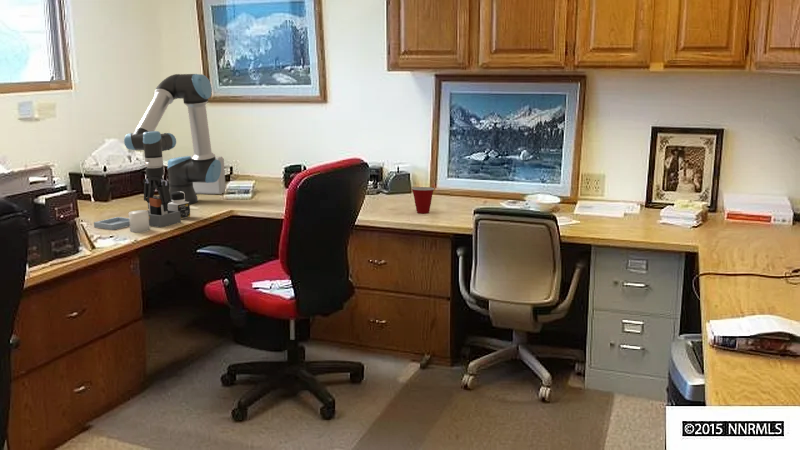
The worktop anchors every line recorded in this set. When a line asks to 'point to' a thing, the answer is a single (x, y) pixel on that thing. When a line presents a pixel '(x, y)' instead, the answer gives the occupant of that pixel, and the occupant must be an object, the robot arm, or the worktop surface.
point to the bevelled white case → (214, 187)
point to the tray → (112, 223)
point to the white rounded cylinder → (139, 221)
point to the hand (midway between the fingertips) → (158, 217)
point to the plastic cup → (422, 199)
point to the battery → (155, 205)
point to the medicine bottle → (179, 204)
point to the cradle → (164, 219)
